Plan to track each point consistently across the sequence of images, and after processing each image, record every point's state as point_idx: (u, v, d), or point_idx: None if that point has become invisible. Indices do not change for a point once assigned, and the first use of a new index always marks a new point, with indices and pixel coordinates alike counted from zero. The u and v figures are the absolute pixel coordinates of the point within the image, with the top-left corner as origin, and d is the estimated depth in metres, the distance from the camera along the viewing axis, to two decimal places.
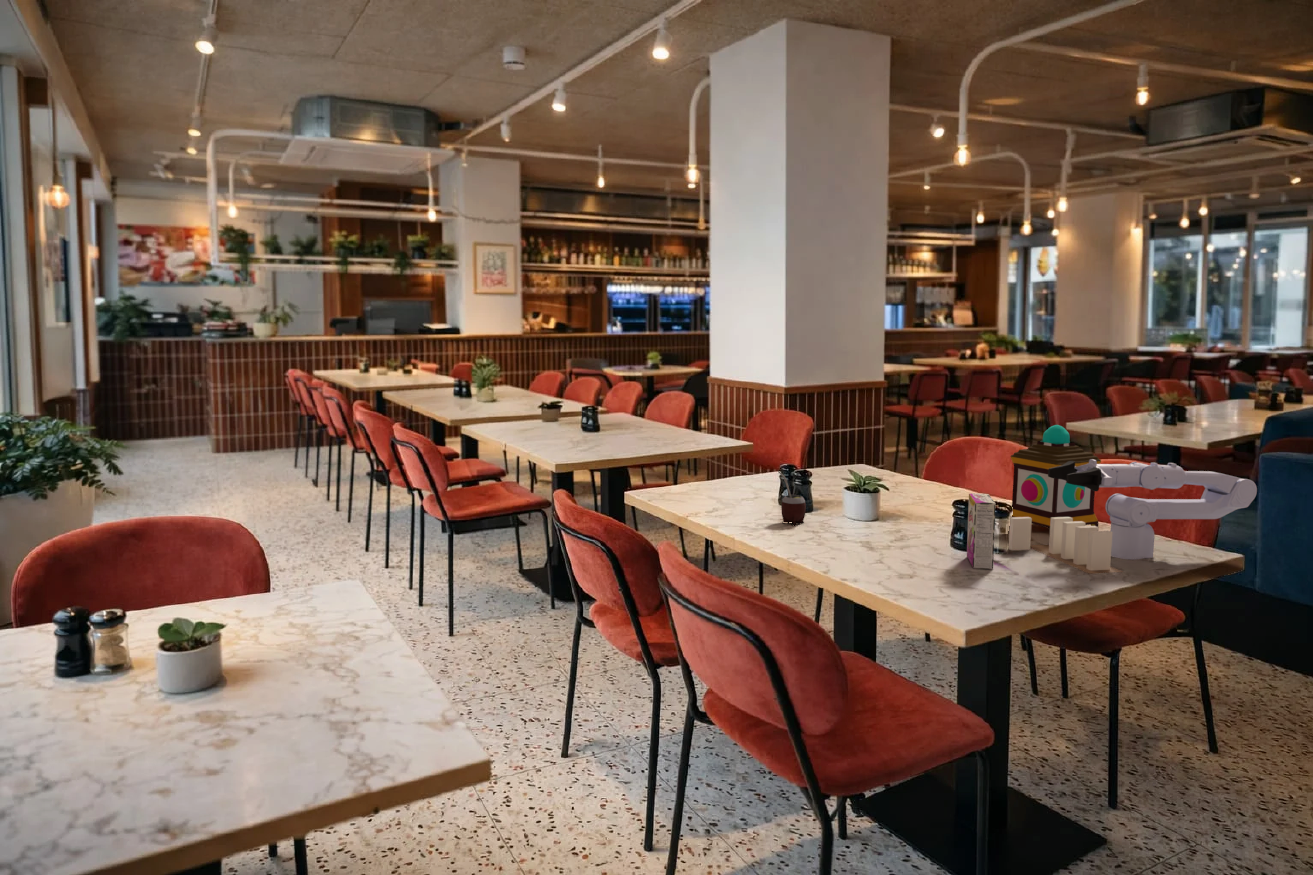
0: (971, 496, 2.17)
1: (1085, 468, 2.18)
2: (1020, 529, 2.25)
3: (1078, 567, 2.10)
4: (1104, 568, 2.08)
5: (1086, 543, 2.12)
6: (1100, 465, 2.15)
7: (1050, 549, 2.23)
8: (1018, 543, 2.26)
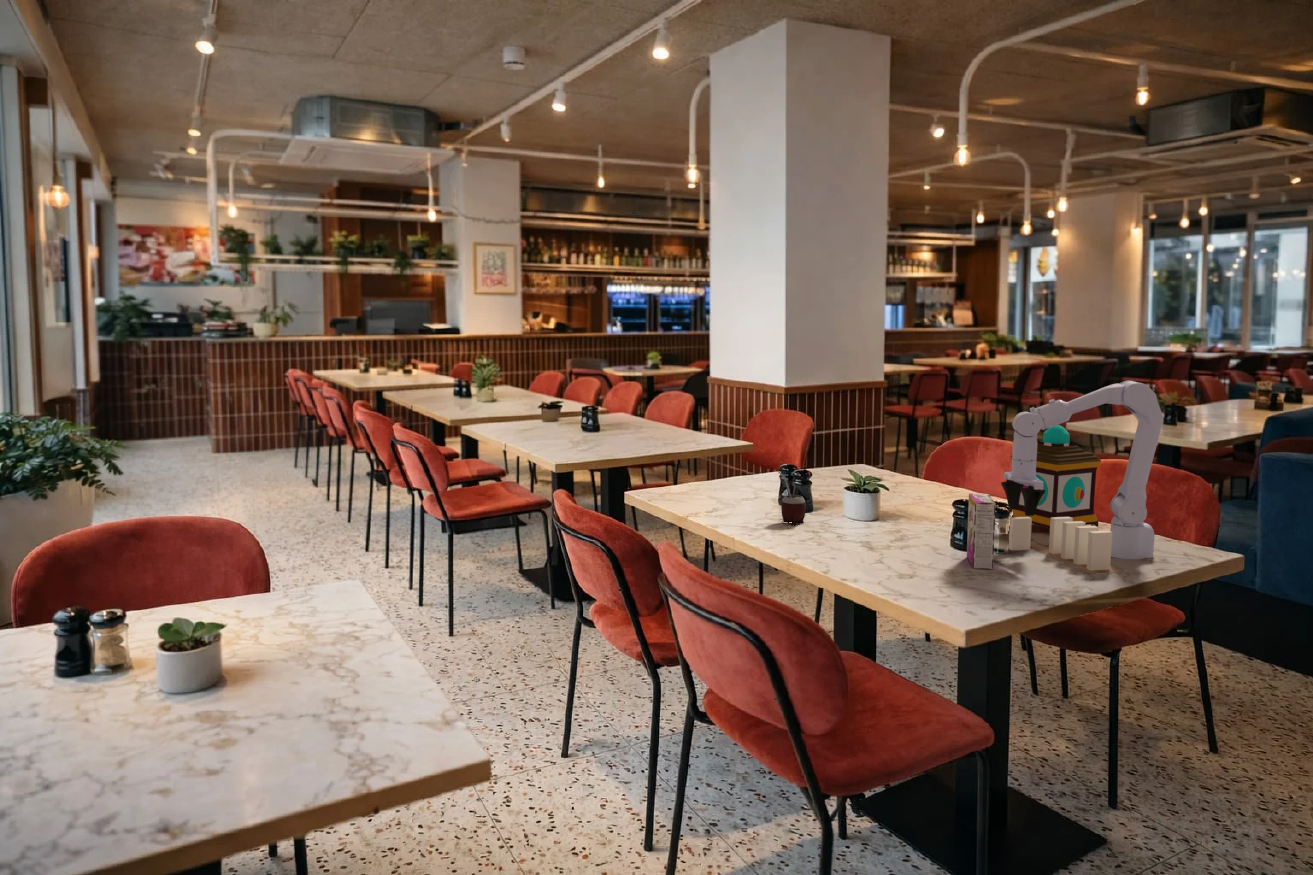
0: (971, 496, 2.17)
1: None
2: (1020, 529, 2.25)
3: (1078, 567, 2.10)
4: (1104, 568, 2.08)
5: (1086, 543, 2.12)
6: (1015, 472, 2.23)
7: (1050, 549, 2.23)
8: (1018, 543, 2.26)
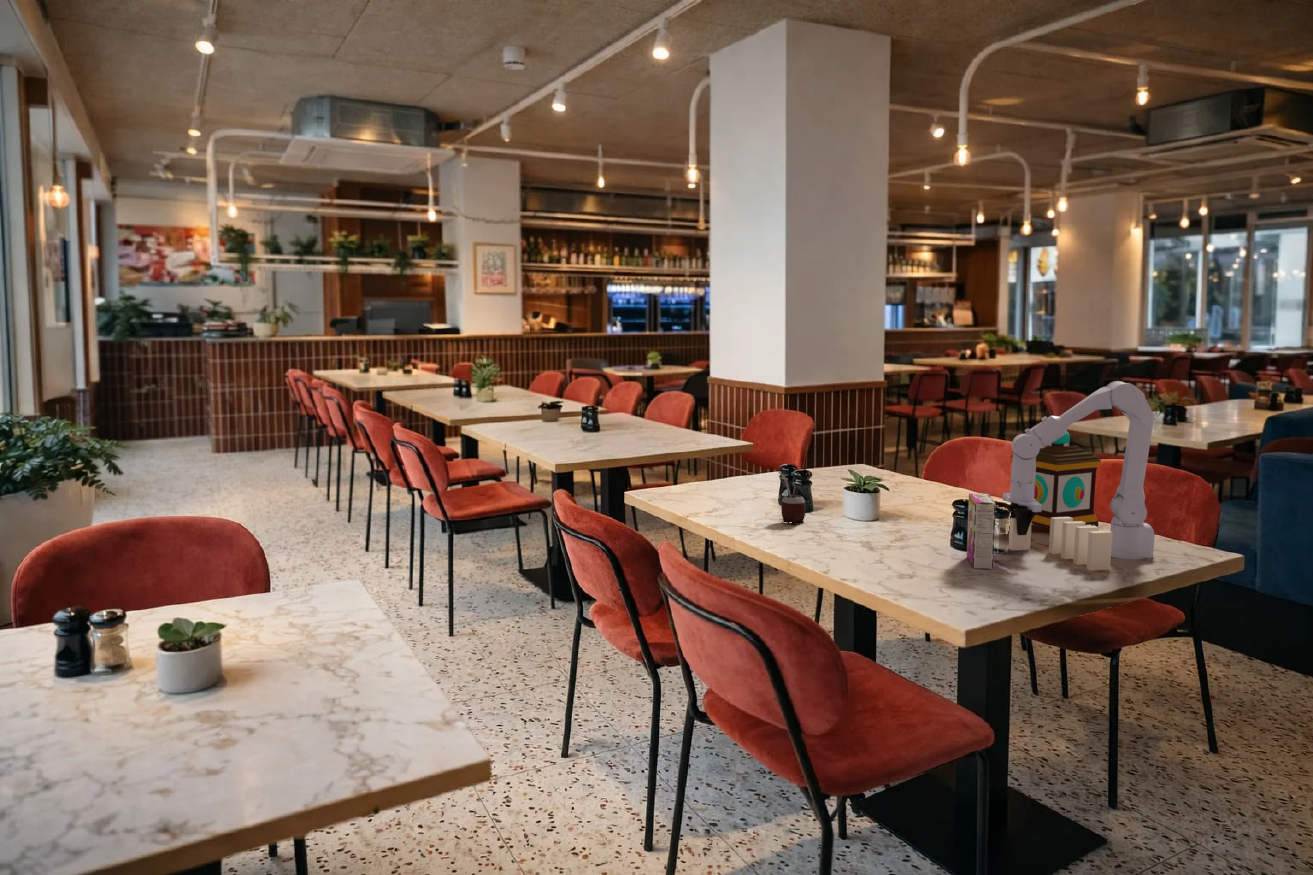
0: (971, 496, 2.17)
1: None
2: None
3: (1078, 567, 2.10)
4: (1104, 568, 2.08)
5: (1086, 543, 2.12)
6: (1014, 494, 2.24)
7: (1050, 549, 2.23)
8: (1017, 543, 2.26)
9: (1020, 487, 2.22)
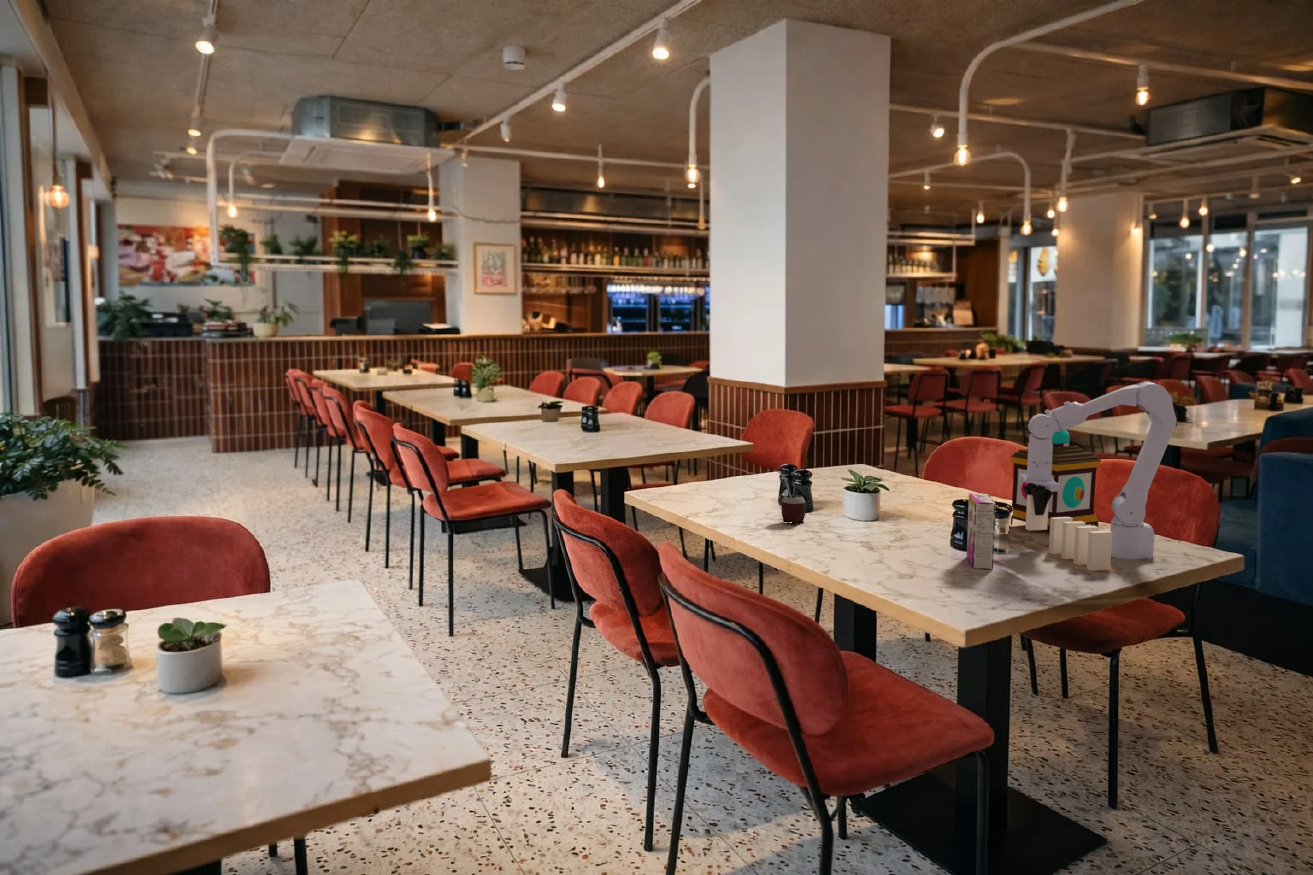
0: (971, 496, 2.17)
1: None
2: None
3: (1078, 567, 2.10)
4: (1104, 568, 2.08)
5: (1086, 543, 2.12)
6: (1031, 475, 2.24)
7: (1050, 549, 2.23)
8: (1035, 520, 2.26)
9: (1037, 467, 2.22)
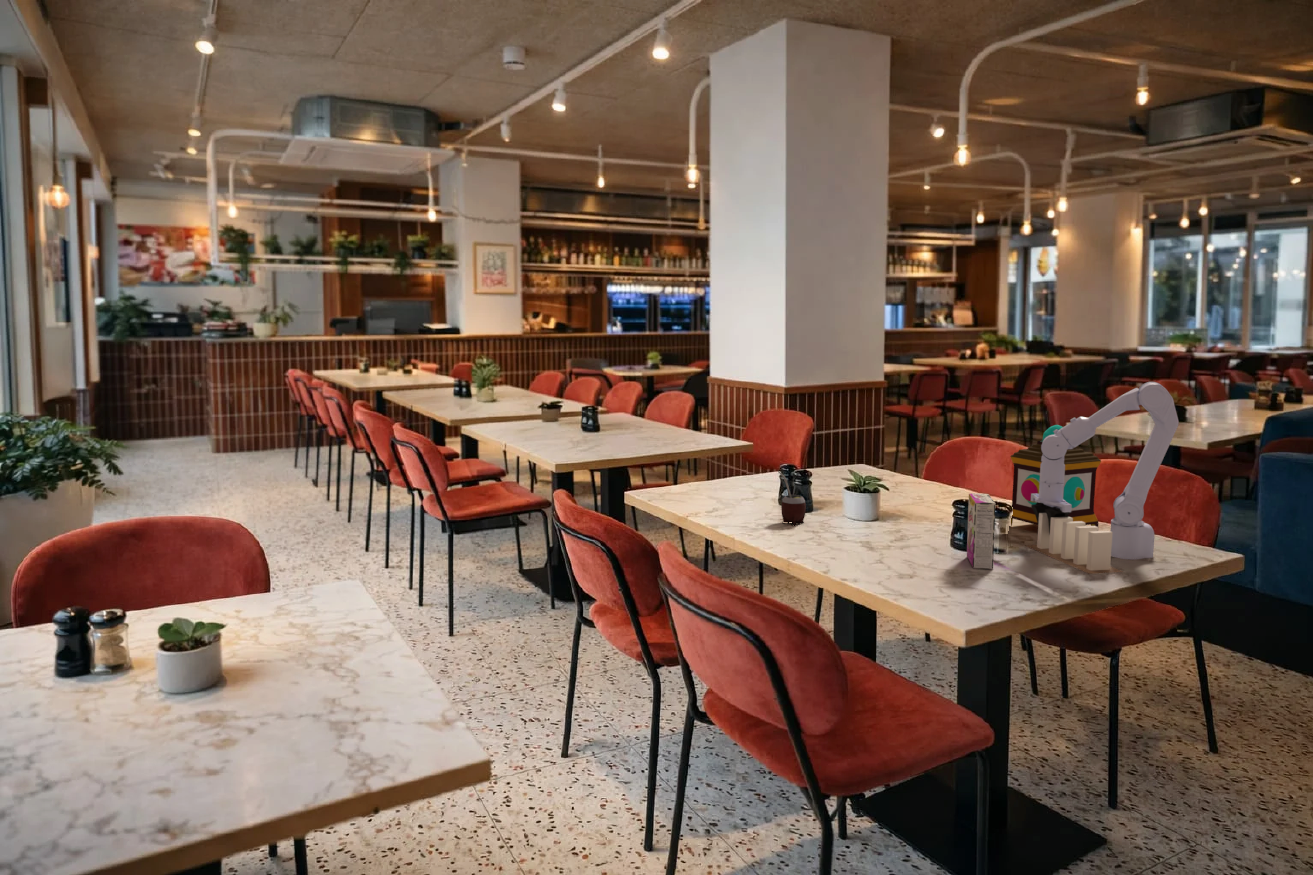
0: (971, 496, 2.17)
1: None
2: None
3: (1078, 567, 2.10)
4: (1104, 568, 2.08)
5: (1086, 543, 2.12)
6: (1043, 495, 2.25)
7: (1050, 549, 2.23)
8: (1046, 538, 2.27)
9: (1049, 488, 2.24)
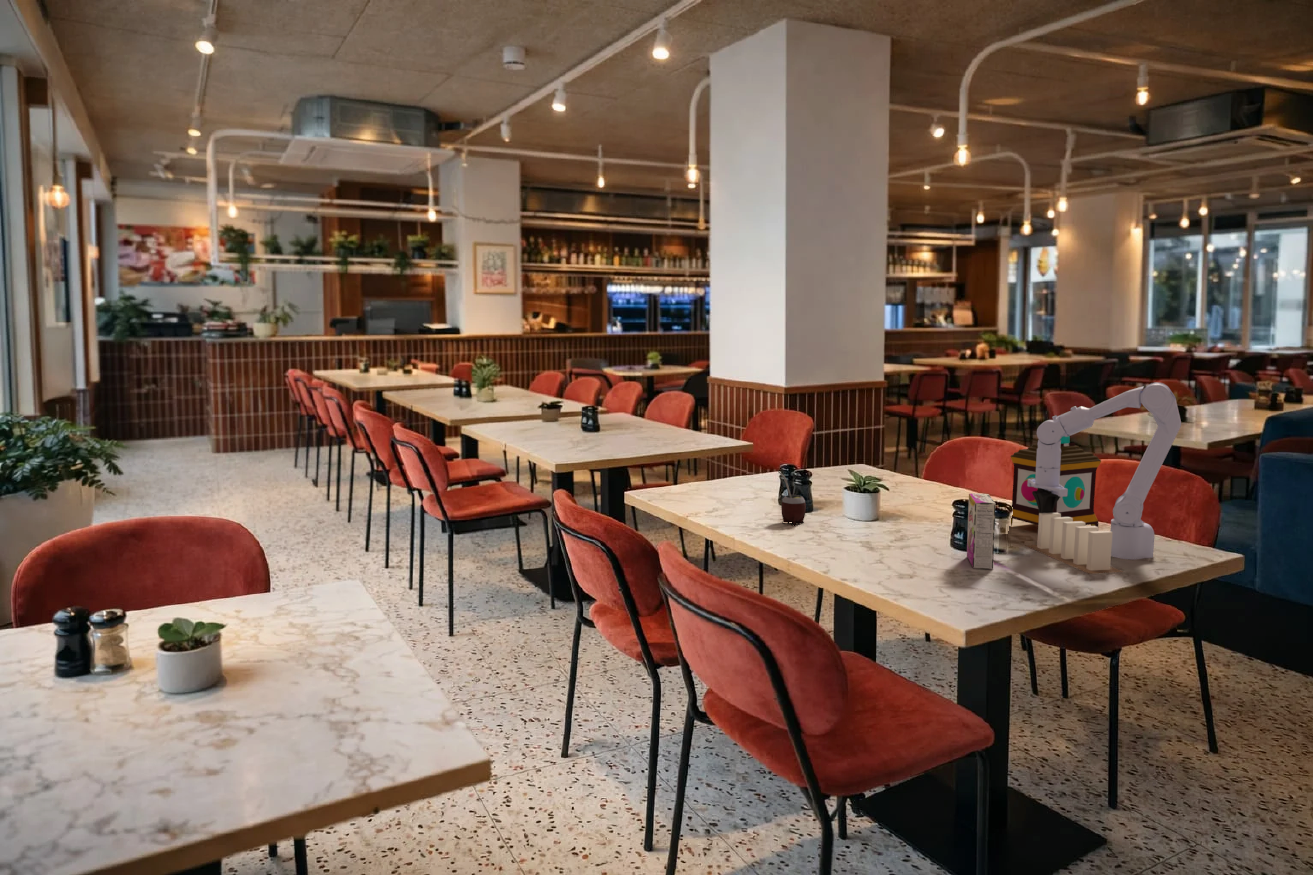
0: (971, 496, 2.17)
1: None
2: (1049, 525, 2.26)
3: (1078, 567, 2.10)
4: (1104, 568, 2.08)
5: (1086, 543, 2.12)
6: (1039, 480, 2.27)
7: (1050, 549, 2.23)
8: (1046, 538, 2.27)
9: (1045, 472, 2.25)
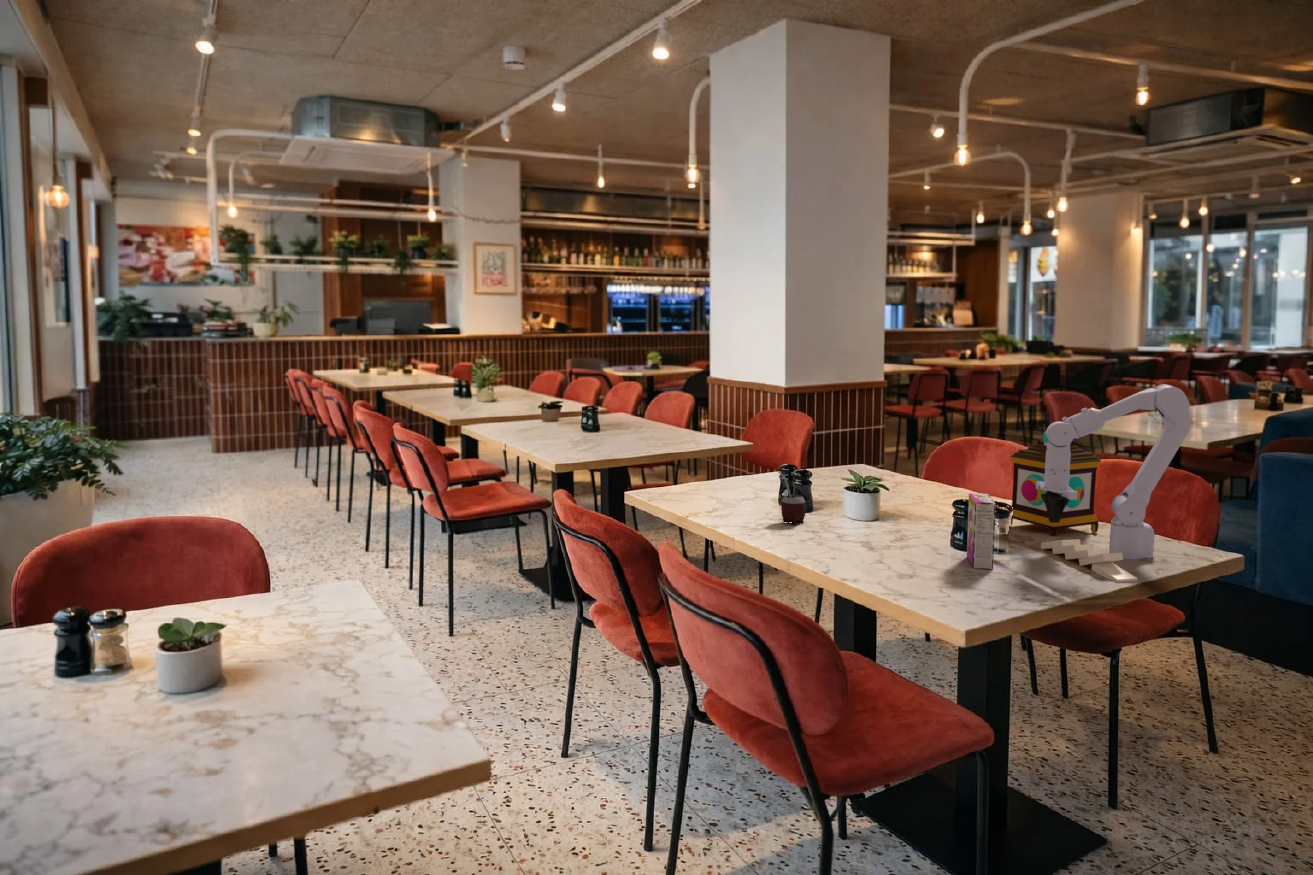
0: (971, 496, 2.17)
1: None
2: None
3: (1078, 567, 2.10)
4: None
5: (1101, 562, 2.07)
6: (1048, 482, 2.23)
7: (1054, 550, 2.21)
8: None
9: (1055, 475, 2.21)
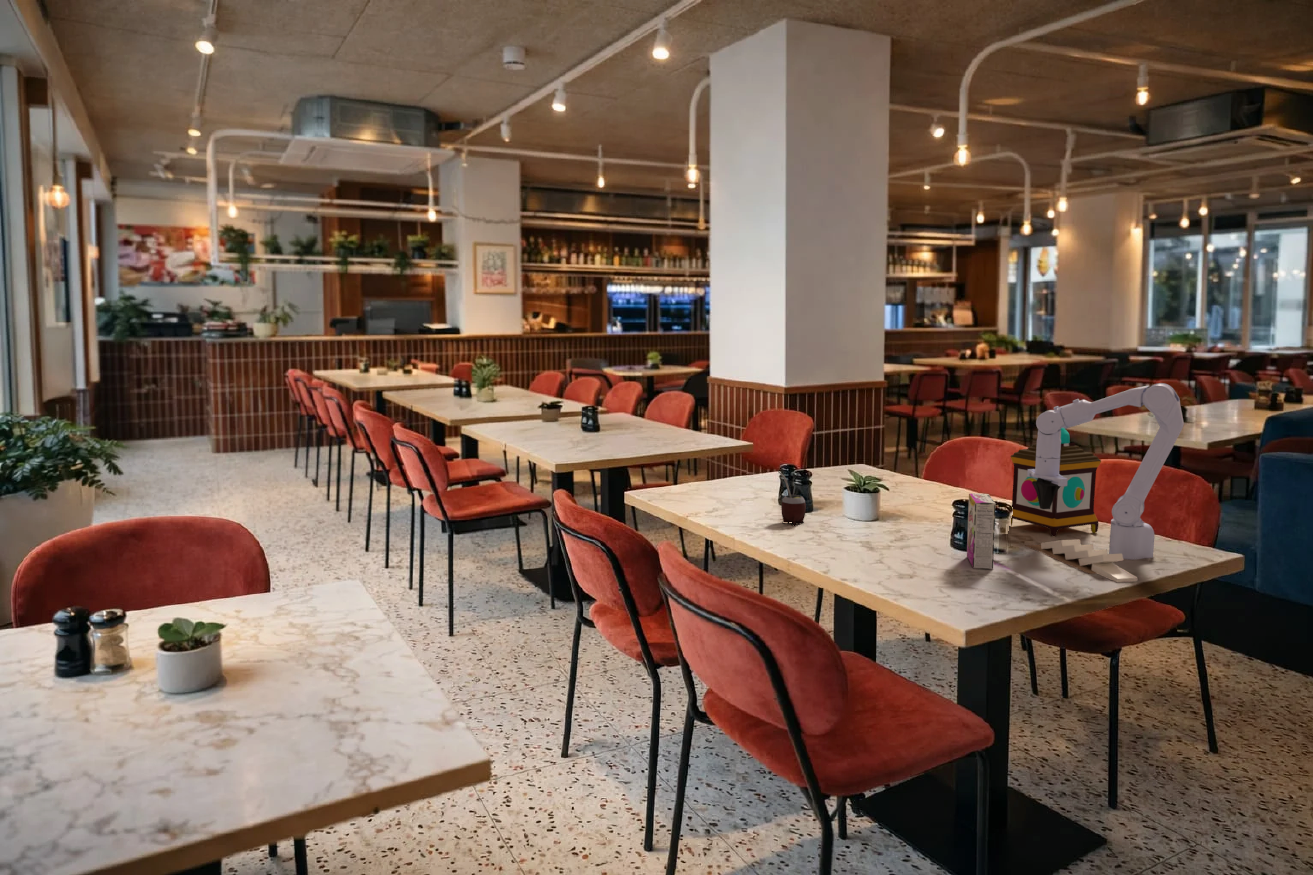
0: (971, 496, 2.17)
1: None
2: None
3: (1078, 567, 2.10)
4: None
5: None
6: (1039, 470, 2.27)
7: (1054, 550, 2.21)
8: None
9: (1045, 462, 2.26)
